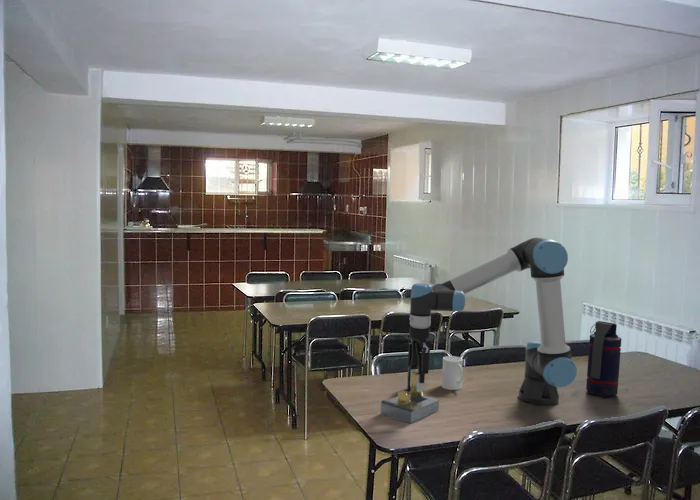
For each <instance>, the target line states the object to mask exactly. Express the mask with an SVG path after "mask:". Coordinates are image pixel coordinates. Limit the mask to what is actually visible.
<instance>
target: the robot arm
mask: <svg viewBox="0 0 700 500" xmlns="http://www.w3.org/2000/svg"><path fill="white" fill-rule="evenodd" d="M568 255H569V254H568V252H567V250H566V247H565V246H563V244H562V243H560V242H558V241H557V240H554V239H550V238H542V237H532V238H529V239H527V240H525V241H523V242H521V243H519V244H517V245H515V246H513V247H510V248H508V249H507V252H506V253H504V254H501V255H500V256H498V257H496V258H494V259H492V260H489V261H487V262H485V263H483V264H481V265H479V266H477V267H475V268H472V269H470V270H468V271H466V272H464V273H462V274H460V275H457V276H456V277H453V278H450V279H449V280H447V281H445V282H443V283H436V284H433V285H431V283H429V284H428V283H421V282H419V283H414V284H413V285H412V286H411V290H410V307H409V309H410V311H409V313H410V314H409V319H408V320H409V325H410V326H408V327H409V328H408V329H409V331H408V332H409V333H408V336H409V339H408V340H407V343H408V350H407V351H408V352H407V354H408V355H407V366H408V367H410V369H411V373H412V372H418V373H417V387H416V391H417V392H419V391H423V392H424V391H425V377H426V376H425V375H426V374H427V375H428V374H429V370H430V369H429V367H430V354H431V347H430V346H427V344H428V343H427V339H429V338H430V336H431V328H430V327H431V323H432V321H431V319H432V311H433V312H435V311H439V312H440V311H441V312H462V311H464V309H465V306H466V295H467V294H468V293H471V292H473V291H475V290H477V289H479V288H482V287H484V286H486V285H488V284H490V283H492V282H494V281H496V280H499V279H501V278H502V277H505V276H508V275H509V274H512V273H514V272H519V273H520V272H522V271H524V270H527V269H529V270H530V271H529V272H530V277H531V279H533V280H534V281H535V289H536V299H537V301H536V302H537V311H538V321H539V322H538V325H539V334H540V335H539V336H540V340H531V341H528V342H526V347H525V361H524V377H523V380H522V383H521V385H520V388H519V390H518V398H519V399H520V400H522V401H524V402H527V403H529V404H533V405H540V406H553V405H556V404H558V403H559V402H560V394H559V391H558V388H564V387H567V386H569V385H570V384H572V382H574V380H575V379H576V377H577V373H578V370H577V369H578V367H577V365H576V364H575V361H574V360H573V359H572V353H571V352H572V351H571V346H569V345H568V344H567V343H566V336H565V334H566V331H565V321H564V319H565V318H564V309H563V298H562V285H561V280H562V279H563V277H564V276H565V267H566V266H567V264H568V260H569V256H568ZM410 338H411V339H410ZM417 365H418V366H417ZM416 368H418V369H416ZM410 387H411V377H410Z"/></svg>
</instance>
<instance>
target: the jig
mask: <svg viewBox="0 0 700 500" xmlns="http://www.w3.org/2000/svg"><path fill="white" fill-rule="evenodd" d="M439 401H440V399H437V398H433V397H431V396H427V395H424V394H423V396H422V397H413V396H411V393H410V391H407V390H401V391H398V392H397V396H396V397H392V398H390V399H388V400H385V399H382V400H381V403H380V415H382V416H386V417H389V418H392V419H395V420H398V421H401V422H405V423H408V424H412V423H415V422H417V421H419V420H422V419H423V418H425V417H428V416H430V415H432V414H434V413H436V412H439V404H440V402H439Z"/></svg>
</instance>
